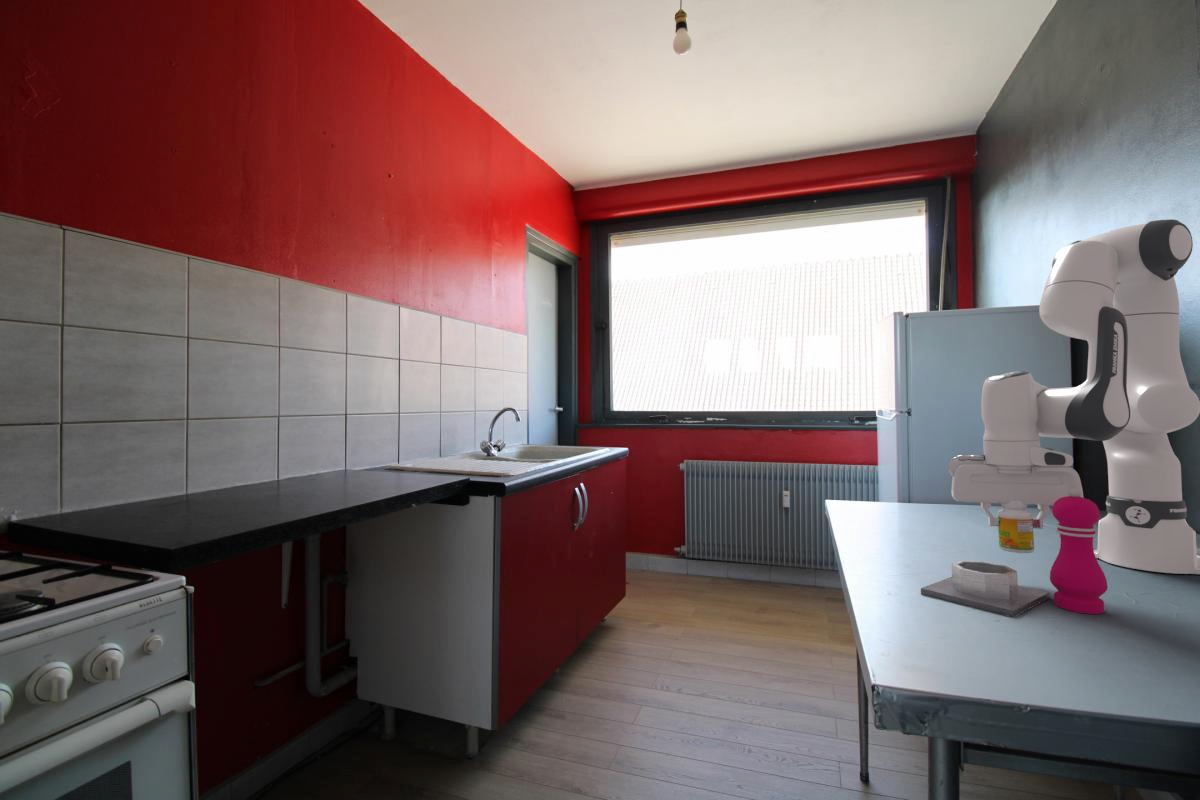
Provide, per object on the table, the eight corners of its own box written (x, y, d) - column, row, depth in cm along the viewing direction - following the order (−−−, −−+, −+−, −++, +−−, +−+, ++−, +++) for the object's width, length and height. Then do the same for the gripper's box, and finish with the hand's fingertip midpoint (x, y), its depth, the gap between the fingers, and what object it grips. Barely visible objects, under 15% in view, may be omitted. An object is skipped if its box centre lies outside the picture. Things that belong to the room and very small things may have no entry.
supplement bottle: (992, 547, 107) (990, 497, 108) (1021, 546, 107) (1018, 497, 107) (1011, 553, 102) (1008, 501, 102) (1041, 553, 102) (1038, 501, 102)
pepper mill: (1120, 617, 86) (1115, 490, 86) (1067, 614, 87) (1063, 489, 88) (1089, 601, 93) (1084, 484, 94) (1041, 599, 94) (1037, 484, 95)
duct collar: (960, 578, 107) (960, 552, 107) (1049, 597, 95) (1048, 569, 95) (920, 593, 98) (920, 565, 98) (1013, 617, 86) (1012, 585, 86)
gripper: (949, 456, 107) (953, 526, 107) (1084, 456, 98) (1088, 534, 97) (946, 453, 113) (949, 520, 112) (1073, 454, 103) (1077, 527, 103)
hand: (1015, 526), depth 105 cm, fingers closed on supplement bottle, 5 cm apart
